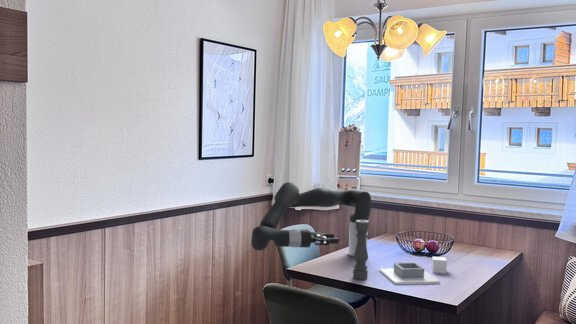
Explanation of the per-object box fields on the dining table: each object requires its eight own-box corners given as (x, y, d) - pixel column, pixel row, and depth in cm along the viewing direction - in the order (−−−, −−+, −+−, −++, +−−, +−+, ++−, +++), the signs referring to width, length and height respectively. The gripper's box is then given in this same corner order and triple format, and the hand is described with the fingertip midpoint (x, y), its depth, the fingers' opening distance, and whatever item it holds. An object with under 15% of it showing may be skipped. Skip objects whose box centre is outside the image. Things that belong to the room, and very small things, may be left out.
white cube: (432, 272, 238) (433, 259, 238) (431, 269, 244) (432, 256, 243) (446, 273, 237) (447, 260, 236) (445, 270, 243) (445, 257, 242)
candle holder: (356, 280, 222) (358, 222, 220) (350, 276, 228) (352, 219, 226) (369, 279, 224) (372, 222, 222) (363, 275, 230) (366, 219, 228)
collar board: (379, 270, 238) (379, 260, 238) (420, 270, 241) (421, 259, 241) (394, 284, 218) (395, 272, 218) (439, 283, 221) (440, 272, 221)
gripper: (302, 233, 213) (340, 233, 216) (296, 226, 227) (332, 226, 230) (301, 251, 214) (339, 251, 216) (295, 243, 228) (331, 243, 230)
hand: (336, 238), depth 223 cm, fingers open, 8 cm apart
